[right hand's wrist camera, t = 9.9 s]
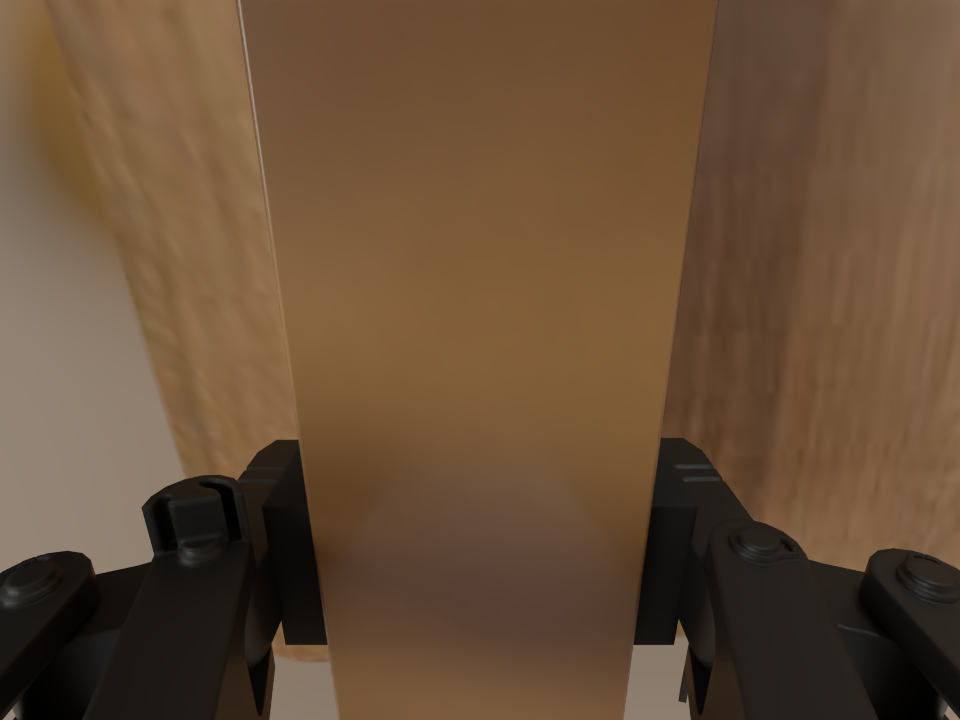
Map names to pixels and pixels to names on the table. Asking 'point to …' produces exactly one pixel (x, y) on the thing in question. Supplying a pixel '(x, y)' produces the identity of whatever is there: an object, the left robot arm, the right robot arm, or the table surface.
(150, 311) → the table surface
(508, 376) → the post
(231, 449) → the table surface
